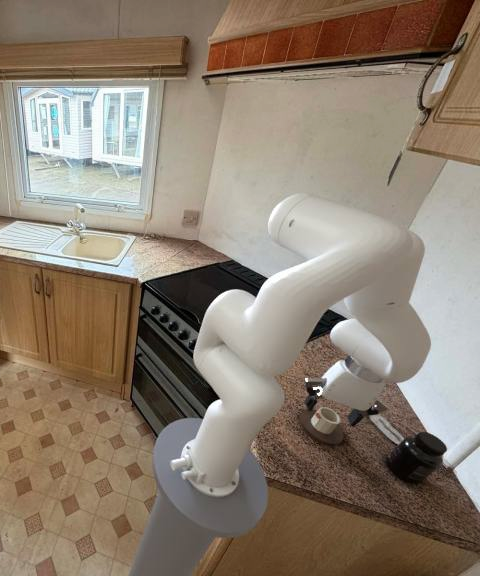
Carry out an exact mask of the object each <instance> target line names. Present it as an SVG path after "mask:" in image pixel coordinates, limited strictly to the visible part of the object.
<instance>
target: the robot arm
mask: <svg viewBox="0 0 480 576" xmlns="http://www.w3.org/2000/svg"><path fill="white" fill-rule="evenodd" d="M267 232H268V234H269V237H270V239H271V241H273V243H275V244H276V245H278V246H280V247H281V248H283V249H285V250H287V251H289V252H292V253H293V254H295V255H297V256H299V257H301V258H303V259H305V260H306V261H304V262H302V263H300V264H298V265H294V266H292V267H289V268H286V269H284V270H281V271H279V272H277V273H275V274H273V275H272V276H270V277H269V278H268V279H266V280H265V281H264V283H263V284H262V286H261V287H260V289H259V291H258V293H257V295H256V296H254V295H253V294H252V293H250V292H248V291H245V290H243V289H239V288H238V289H237V288H236V289H229V290H226V291H224V292H222V293H220V294H219V295H218V296H217V297H216V298H215V299H214V300H213V301H212V302H211V303H210V305H209V306H208V308H207V309H206V311H205V313H204V317H203V320H202V321H201V326H200V329H199V332H198V336H197V340H196V343H195V346H194V350H193V356H192V357H193V364H194V366H195V368H196V369H197V371H198V372H199V373H200V374H201V375H202V377H203V378H204V380H205V381H206V382H207V383H208V384H209V386H211V388H212V389H213V391H214V392H215V393H216V395H217V397H218V398H219V399H217V400H215V401H213V402H212V403H210V405H209V406H208V408H207V410H206V411H205V414H204V416H203V418H202V419H203V421H202V424H201V426H200V429H199V431H198V433H197V436H196V438H195V439H194V440H191V441H189V442H188V443H187V444H186V445H185V447H184V448H183V451H182V454H181V459H176V460H172V461H170V465H171V468H172V469H173V470H174V471H175V470H178V469H181V468H182V469H183V472H182V473H181V475H182V478H183V479H184V480H185V479H188V480H189V482H190V483H191V484H192V485H193V486H194V487H195V488H196V489H198V490H199V491H200V492H202V493H204V494H206V495H209V496H212V497H218V498H219V497H225V496H228V495H230V494H231V493H233V491H234V490H235V489H236V487H237V485H238V482H239V470H238V467H239V465H240V463H241V462H242V460H243V458H244V457H245V455H246V453H247V451H248V450H249V449H251V446H252V445H253V443H254V442H255V439H256V438H257V436H258V435H259V434H260V432H261V431H262V430H263V428H264V427H265V426H266V425H267V423H269V422H270V421H271V420H272V419H274V417H276V415H277V414H278V413H279V412H281V410H282V408H283V407H284V404H285V401H286V399H285V398H286V396H285V392H284V390H283V388H282V386H281V384H280V383H279V382H278V381H277V380H276V377H279V376H281V375H284V374H286V373H287V372H288V371H289V370H290V369H291V367H292V366H293V365H294V364H295V363H296V361H297V359H298V358H299V356H300V354H301V352H302V351H303V349H304V347H305V345H306V344H307V342H308V340H309V339H310V337H311V335H312V333H313V331H314V330H315V328H316V326H317V324H318V323H319V321H320V320H321V319H322V317H323V316H324V314H325V313H326V312H327V311H328V310H329V309H330V308H331V307H333V306H334V305H336V304H338V303H339V302H341V301H342V300H343V302H344V306H345V307H346V309H347V310H348V311H349V313H350V314H351V315H352V316H353V318H349V319H345V320H342V321H339V322H338V323H336V325H334V327H333V328H332V329H331V331H330V334H329V337H330V341H331V342H332V344H333V345H334V346H335V347H336V348H338V349H339V350H341V352H343V353H345V355H347V357H346V358H345V359H340V360H338V361H337V362H335V363H334V364H333V365H331V367H329V369H328V370H327V371H326V372H325V373H324V374H323V375H322V376H321V378H320V377H306V378H304V383H305V389H306V392H307V393H308V395H307V396H306V398H305V399H304V405H305V406H306V410H307V411H311V410H314V408H315V406H316V405H317V404H318V400H322V399H326V400H328V401H331V402H334V403H336V404H340V405H342V406H346V407H349V408H352V410H351V411H350V412H349V414H348V415H347V420H348V423H349V426H350V427H352V428H355V426H356V425H358V424H360V422H361V421H362V420H363V419H367V418H369V416H370V415H377V414H380V413H383V412H387V411H388V410H389V408H388V405H387V404H386V403H385V402H384V401H382V400H381V399H380V396H381V394H382V392H383V389H384V387H385V384H386V382H389V383H391V384H400V383H404V382H407V381H410V380H411V379H412V378H414V377H415V376H416V375H417V374H418V373H419V372H420V371H421V369H422V368H423V366H424V364H425V362H426V360H427V358H428V355H429V353H430V352H431V348H432V340H431V337H430V333H429V331H428V330H427V328H426V326H425V324H424V323H423V321H422V319H421V318H420V315H419V314H418V312H417V311H416V309H415V308H414V307H413V306H412V304H411V303H410V301H411V297H412V294H413V290H414V288H415V285H416V282H417V279H418V276H419V273H420V269H421V267H422V263H423V259H424V257H425V251H426V248H425V243H424V241H423V239H422V238H421V237H420V236H419V235H418V234H416V232H414V231H412V230H411V229H408V228H407V227H403V226H402V225H400V224H399V223H397V222H394V221H393V220H390V219H388V218H385V217H383V216H380V215H379V214H375V213H372V212H370V211H367V210H363V209H359V208H356V207H354V206H350V205H346V204H343V203H341V202H337V201H335V200H331V199H328V198H325V197H321V196H318V195H315V194H311V193H307V192H306V193H305V192H303V193H296V194H295V193H294V194H293V195H290V196H288V197H286V198H284V199H283V200H281V201H280V202H279V203H278V204H277V205H276V206H275V207H274V209H273V210H272V212H271V214H270V216H269V218H268V221H267ZM313 386H316V387H313Z"/></svg>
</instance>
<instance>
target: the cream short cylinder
mask: <svg viewBox="0 0 480 576" xmlns="http://www.w3.org/2000/svg"><path fill="white" fill-rule="evenodd" d="M341 420H342V419H341V416H339V414H338V413H337V412H336V411H335V410H333V409H332V408H330V407H327V406H320V407H319V408H318V409H317V412H316V413H315V415H314V416H313V417H312V419H311V423H312V425H313V426H314V427H315V428H316V429H317V430H318V431H320V432H322V433H324V434H331V433H332V432H333V431H334V429H335V428H336V427H337V426H338V425H339V426H340V423H341V422H342V421H341Z"/></svg>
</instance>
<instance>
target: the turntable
mask: <svg viewBox="0 0 480 576" xmlns="http://www.w3.org/2000/svg"><path fill="white" fill-rule="evenodd" d="M317 411H318V409H312V410H311V411H307V409H305V410H302V412H301V413H300V414H299V417H298V422H299V425H300V426H301V428H302V430H303V431H304V432H305V433H306V434H307V435H308V436H309V437H311V439H313V440H315V441H317V442H318V443H320V444H322V445H326V446H329V447H330V446H331V447H334V446H338V445H340V444H341V443H342V442H343V440H344V437H345V436H344V432H343V429H342V427H341V426H340V424H339V425H338V426H337V427H336V428H335V429H334V431H333V432H332V433H331V434H324V433H322V432H320V431H318V430H317V429H316V428H315V427H314V426H313V425H312V423H311V419H312V417H313V416H314V415H315V413H316V412H317Z"/></svg>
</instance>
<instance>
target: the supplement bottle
mask: <svg viewBox="0 0 480 576" xmlns="http://www.w3.org/2000/svg"><path fill="white" fill-rule="evenodd" d="M404 438H405V439H403V440H402V441H401V442H400V443H399V444H397V445H396V446H395V447H394V448H393V449H392V450H391V451H390V452H389V453H388V454H387V455H386V456H385V459H384V461H385V466H386V467H387V469H388V470H389V472H390V473H391V474H392V475H394V476H395V477H396V478H397V479H399V480H401V481H402V482H404V483H406V484H410V485H419V484H420V483H421V484H422V482H423V481H424V480H426V479H427V478H428V477H429V476H431V474H432V473H434V472H435V471H436V470H437V469H439V468H440V467H441V466H442V465H443V463H444V458H443V456H444V454H445V453H447V451H448V447H447V445H446V444H445V442H444V441H443V440H442V439H441V438H440V437H438V436H436V435H434V434H432V433H430V432H426V431H420V432H418V433H417V434H416V435H414V436H407V437H404Z"/></svg>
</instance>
